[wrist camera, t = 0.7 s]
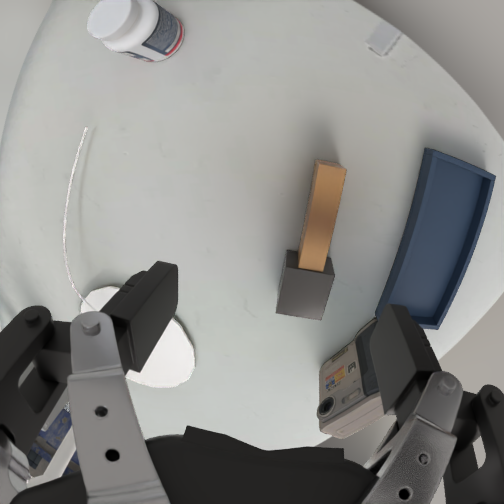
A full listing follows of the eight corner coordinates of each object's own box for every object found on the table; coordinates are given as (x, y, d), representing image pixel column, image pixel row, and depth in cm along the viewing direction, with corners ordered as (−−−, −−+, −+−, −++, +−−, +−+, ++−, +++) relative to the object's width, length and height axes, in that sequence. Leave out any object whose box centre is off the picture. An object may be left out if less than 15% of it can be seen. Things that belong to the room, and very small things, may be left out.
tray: (424, 147, 22) (433, 149, 20) (485, 172, 21) (496, 175, 19) (374, 312, 29) (378, 323, 28) (432, 319, 29) (438, 330, 27)
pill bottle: (180, 9, 19) (136, -27, 11) (189, 51, 21) (144, 24, 13) (132, 29, 20) (79, 7, 12) (140, 70, 22) (83, 57, 14)
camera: (380, 309, 29) (403, 376, 20) (406, 333, 30) (430, 396, 21) (309, 365, 34) (309, 431, 25) (339, 383, 35) (343, 445, 26)
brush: (303, 156, 24) (305, 161, 21) (351, 166, 24) (360, 173, 20) (278, 292, 30) (275, 313, 27) (319, 299, 30) (321, 320, 26)
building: (36, 409, 63) (6, 455, 42) (36, 385, 53) (-5, 443, 32) (92, 450, 67) (67, 500, 46) (106, 437, 57) (73, 502, 36)
